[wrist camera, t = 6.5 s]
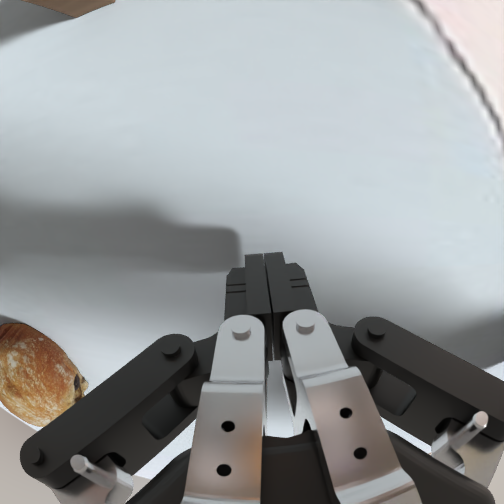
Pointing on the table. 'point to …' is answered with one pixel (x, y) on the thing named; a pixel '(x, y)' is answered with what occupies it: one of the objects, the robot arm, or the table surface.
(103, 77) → the table surface
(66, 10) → the bridge
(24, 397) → the bread roll
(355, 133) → the table surface
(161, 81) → the table surface
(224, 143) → the table surface
